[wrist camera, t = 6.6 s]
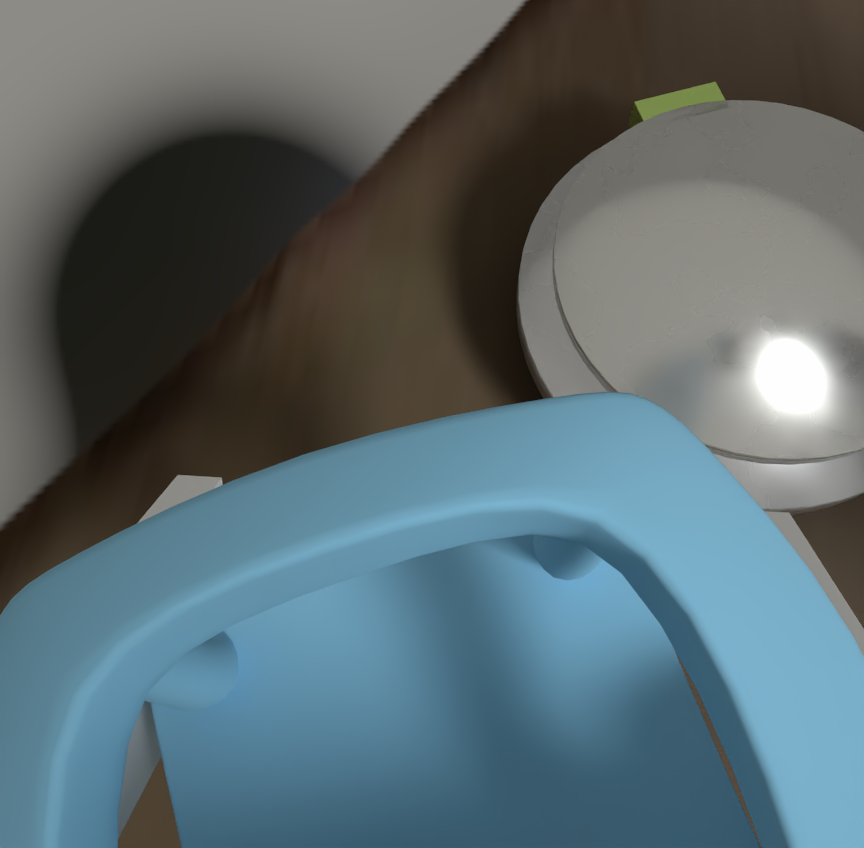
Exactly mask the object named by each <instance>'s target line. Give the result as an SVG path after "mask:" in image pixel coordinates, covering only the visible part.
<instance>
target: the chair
mask: <svg viewBox="0 0 864 848" xmlns="http://www.w3.org/2000/svg"><path fill="white" fill-rule="evenodd" d="M674 649H675V650H674ZM675 651H676V653H677V655H678V656H679V658H680V660H681V662H682V663H683V665H684V667H685V669H686V670H687V672H688V674H689V676H690V678H691V679H692V681H693V683H694V685H695V686H696V688H697V690H698V692H699V695H700V697H701V699H702V701H703V703H704V706H705V708H706V710H707V712H708V715H709V717H710V719H711V721H712V723H713V726H714V728H715V730H716V732H717V735H718V737H719V739H720V741H721V743H722V746H723V748H724V750H725V752H726V754H727V757H728V759H729V761H730V763H731V766H732V768H733V771H734V774H735V776H736V779H737V782H738V784H739V787H740V790H741V792H742V795H743V798H744V800H745V803H746V806H747V808H748V811H749V814H750V816H751V819H752V822H753V824H754V827H755V830H756V832H757V835H758V838H759V840H760V843H761V846H762V848H864V657H863V655H862V653H861V651H860V648H859V646H858V644H857V642H856V640H855V638H854V637H853V635H852V634H851V632H850V630H849V629H848V627H847V626H846V624H845V623H844V621H843V620H842V618H841V617H840V615H839V613H838V612H837V610H836V609H835V607H834V606H833V604H832V603H831V601H830V599H829V598H828V596H827V595H826V593H825V592H824V590H823V589H822V587H821V586H820V584H819V582H818V581H817V579H816V578H815V576H814V575H813V573H812V572H811V570H810V569H809V568H808V566H807V565H806V564H805V562H804V561H803V560H802V559H801V557H800V556H799V555H798V553H797V552H796V551H795V549H794V548H793V547H792V546H791V544H790V543H789V542H788V540H787V539H786V538H785V537H784V535H783V534H782V533H781V531H780V530H779V529H778V528H777V526H776V525H775V524H774V522H773V521H772V520H771V519H770V517H769V516H768V515H767V514H766V513H765V511H764V510H763V509H762V508H761V507H760V506H759V505H758V503H757V502H756V501H755V500H754V499H753V498H752V497H751V495H750V494H749V493H748V492H747V491H746V490H745V489H744V487H743V486H742V485H741V484H740V483H739V482H738V481H737V479H736V478H735V477H734V476H733V475H732V474H731V473H730V472H729V471H728V469H727V468H726V467H725V466H724V465H723V464H722V463H721V462H720V461H719V460H718V459H717V458H716V456H715V455H714V454H713V453H712V452H711V451H710V450H709V449H708V448H707V447H706V446H705V445H704V444H703V443H702V442H701V441H700V440H699V439H698V438H697V437H696V436H695V435H694V434H693V433H692V432H691V431H690V430H689V429H688V428H687V427H686V426H685V425H684V424H683V423H681V422H680V421H679V420H678V419H676V418H675V417H674V416H673V415H672V414H670V413H669V412H668V411H667V410H665V409H664V408H662V407H660V406H659V405H657V404H655V403H653V402H652V401H650V400H648V399H646V398H643V397H640V396H636V395H633V394H630V393H621V392H594V393H581V394H574V395H567V396H560V397H553V398H546V399H540V400H534V401H528V402H522V403H516V404H510V405H504V406H498V407H493V408H488V409H483V410H478V411H473V412H468V413H463V414H458V415H453V416H448V417H443V418H438V419H434V420H430V421H426V422H422V423H418V424H413V425H409V426H405V427H401V428H397V429H392V430H388V431H384V432H380V433H376V434H372V435H369V436H365V437H362V438H358V439H355V440H352V441H348V442H345V443H341V444H338V445H334V446H331V447H328V448H324V449H321V450H317V451H314V452H311V453H307V454H304V455H301V456H298V457H296V458H293V459H290V460H287V461H285V462H282V463H279V464H276V465H274V466H271V467H268V468H266V469H263V470H260V471H257V472H255V473H252V474H249V475H246V476H244V477H241V478H238V479H236V480H233V481H231V482H228V483H226V484H224V485H221V486H219V487H217V488H214V489H212V490H210V491H207V492H205V493H203V494H200V495H198V496H196V497H193V498H191V499H189V500H186V501H184V502H182V503H179V504H177V505H175V506H172V507H170V508H168V509H166V510H164V511H162V512H160V513H158V514H156V515H154V516H152V517H150V518H148V519H145V520H143V521H141V522H139V523H137V524H135V525H133V526H131V527H129V528H127V529H125V530H123V531H120V532H119V533H117V534H115V535H113V536H111V537H109V538H107V539H105V540H103V541H101V542H100V543H98V544H96V545H94V546H92V547H90V548H88V549H86V550H84V551H82V552H81V553H79V554H77V555H75V556H73V557H71V558H70V559H68V560H66V561H64V562H63V563H61V564H59V565H57V566H55V567H54V568H52V569H50V570H48V571H47V572H45V573H44V574H42V575H41V576H39V577H38V578H36V579H35V580H33V581H32V582H30V583H29V584H27V585H26V586H25V587H24V588H23V589H22V590H21V591H20V592H19V593H17V594H16V595H15V596H14V597H13V598H12V599H11V601H10V602H9V603H8V605H7V606H6V608H5V609H4V611H3V612H2V613H1V615H0V848H118V813H119V806H120V799H121V791H122V784H123V777H124V770H125V763H126V756H127V749H128V744H129V741H130V738H131V735H132V732H133V728H134V726H135V723H136V721H137V718H138V716H139V713H140V711H141V709H142V706H143V704H144V701H147V702H151V707H152V712H153V718H154V723H155V729H156V733H157V738H158V742H159V747H160V751H161V756H162V761H163V765H164V770H165V774H166V779H167V783H168V788H169V793H170V797H171V802H172V806H173V811H174V815H175V820H176V825H177V829H178V834H179V838H180V844H181V848H760V846H759V843H758V841H757V839H756V837H755V835H754V832H753V830H752V828H751V826H750V823H749V821H748V819H747V817H746V814H745V812H744V810H743V808H742V806H741V803H740V801H739V799H738V797H737V794H736V792H735V790H734V788H733V785H732V783H731V781H730V779H729V777H728V774H727V772H726V770H725V768H724V765H723V763H722V761H721V758H720V756H719V754H718V751H717V749H716V747H715V744H714V742H713V740H712V737H711V735H710V733H709V730H708V728H707V726H706V723H705V721H704V719H703V716H702V714H701V712H700V709H699V707H698V705H697V702H696V700H695V698H694V695H693V693H692V691H691V688H690V686H689V684H688V681H687V679H686V677H685V674H684V672H683V670H682V667H681V665H680V662H679V660H678V658H677V655H676V653H675Z"/></svg>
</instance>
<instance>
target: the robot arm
mask: <svg viewBox="0 0 864 848" xmlns="http://www.w3.org/2000/svg"><path fill="white" fill-rule="evenodd" d="M221 485H222V478H220V477H203V476H187V475H177V476H176V478H175V479H174V480H173V481H172V482H171V484H170V485H169V486H168V487H167V488H166V490H165V491H164V492H163V493H162V494H161V495H160V497H159V498H158V499H157V500H156V501H155V503H154V504H153V505H152V506H151V507H150V509H149V510H148V511H147V512H146V513H145V515H144V516H143V517H142V518H141V519H140V520H139V522H141V521H143V520H145V519H148V518H150V517H152V516H154V515H156V514H158V513H160V512H162V511H164V510H166V509H168V508H170V507H172V506H175V505H177V504H179V503H182V502H184V501H186V500H189V499H191V498H193V497H196V496H198V495H200V494H203V493H205V492H207V491H210V490H212V489H214V488H217V487H219V486H221ZM765 513H766V514H767V515H768V516H769V517H770V519H771V520H772V521H773V522H774V524H775V525H776V526H777V528H778V529H779V530H780V531H781V533H782V534H783V535H784V537H785V538H786V539H787V540H788V542H789V543H790V544H791V546H792V547H793V548H794V549H795V551H796V552H797V553H798V555H799V556H800V557H801V559H802V560H803V561H804V562H805V564H806V565H807V566H808V568H809V569H810V570H811V572H812V573H813V575H814V576H815V578H816V579H817V581H818V582H819V584H820V586H821V587H822V589H823V590H824V592H825V593H826V595H827V596H828V598H829V599H830V601H831V603H832V604H833V606H834V607H835V609H836V610H837V612H838V613H839V615H840V617H841V618H842V620H843V621H844V623H845V624H846V626H847V627H848V629H849V630H850V632H851V634H852V635H853V637H854V638H855V640H856V642H857V644H858V646H859V648H860V651H861V653H862V655H863V657H864V629H863V627H862V626H861V624H860V623H859V621H858V619H857V618H856V616H855V615H854V613H853V612H852V610H851V608H850V607H849V605H848V604H847V602H846V601H845V599H844V598H843V596H842V594H841V593H840V591H839V590H838V588H837V587H836V585H835V583H834V582H833V580H832V579H831V577H830V576H829V574H828V573H827V571H826V569H825V568H824V566H823V565H822V563H821V562H820V560H819V558H818V557H817V555H816V554H815V552H814V551H813V549H812V547H811V546H810V544H809V543H808V541H807V540H806V538H805V537H804V535H803V533H802V532H801V530H800V529H799V527H798V526H797V524H796V522H795V521H794V519H793V518H792V516H791V515H790V513H786V512H770V511H765ZM139 522H138V523H139ZM160 757H161V751H160V747H159V742H158V738H157V733H156V729H155V723H154V718H153V712H152V707H151V702H147V701H144V704H143V706H142V709H141V711H140V713H139V716H138V718H137V721H136V723H135V726H134V728H133V732H132V735H131V738H130V741H129V744H128V749H127V756H126V763H125V770H124V777H123V784H122V791H121V799H120V806H119V813H118V838H119V836H120V835H121V833H122V831H123V829H124V827H125V825H126V823H127V821H128V819H129V817H130V815H131V813H132V811H133V809H134V807H135V805H136V804H137V802H138V800H139V798H140V796H141V794H142V792H143V790H144V788H145V786H146V784H147V782H148V780H149V778H150V776H151V774H152V773H153V771H154V769H155V767H156V765H157V763H158V761H159V759H160Z"/></svg>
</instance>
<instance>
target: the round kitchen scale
mask: <svg viewBox="0 0 864 848" xmlns="http://www.w3.org/2000/svg"><path fill="white" fill-rule="evenodd" d="M628 123H629V125H630V129H628V130H627V131H625V132H623V133H622V134H620V135H619V136H617V137H616V138H615V139H614V140H612V141H610V142H608V143H607V144H605V145H603V146H602V147H600V148H598V149H597V150H595V151H593V152H592V153H590V154H589V155H588V156H587V157H585V158H584V159H583V160H582V161H580V162H579V163H578V164H577V165H575V166H574V167H573V168H572V169H571V170H570V171H569V172H568V173H567V174H566V175H565V176H564V177H563V178H562V179H561V180H560V181H559V182H558V183H557V184H556V185H555V187H554V188H553V190H552V191H551V192H550V194H549V195H548V197H547V198H546V199H545V201H544V202H543V204H542V205H541V207H540V209H539V211H538V213H537V215H536V217H535V219H534V221H533V223H532V225H531V227H530V230H529V233H528V236H527V239H526V242H525V245H524V248H523V253H522V259H521V265H520V271H519V278H518V285H517V306H516V316H517V323H518V331H519V339H520V343H521V346H522V350H523V353H524V357H525V360H526V364H527V366H528V368H529V371H530V373H531V375H532V378H533V380H534V382H535V384H536V387H537V389H538V390H539V392H540V394H541V395H542V397H543V399H546V398H553V397H560V396H567V395H574V394H581V393H594V392H621V393H630V394H633V395H636V396H640V397H643V398H646V399H648V400H650V401H652V402H653V403H655V404H657V405H659V406H660V407H662V408H664V409H665V410H667V411H668V412H669V413H670V414H672V415H673V416H674V417H675V418H676V419H678V420H679V421H680V422H681V423H683V424H684V425H685V426H686V427H687V428H688V429H689V430H690V431H691V432H692V433H693V434H694V435H695V436H696V437H697V438H698V439H699V440H700V441H701V442H702V443H703V444H704V445H705V446H706V447H707V448H708V449H709V450H710V451H711V452H712V453H713V454H714V455H715V456H716V458H717V459H718V460H719V461H720V462H721V463H722V464H723V465H724V466H725V467H726V468H727V469H728V471H729V472H730V473H731V474H732V475H733V476H734V477H735V478H736V479H737V481H738V482H739V483H740V484H741V485H742V486H743V487H744V489H745V490H746V491H747V492H748V493H749V494H750V495H751V497H752V498H753V499H754V500H755V501H756V502H757V503H758V505H759V506H760V507H761V508H762V509H763V510H764V511H770V512H786V513H790V515H791V516H792V515H799V514H804V513H808V512H813V511H818V510H822V509H826V508H829V507H832V506H834V505H837V504H840V503H843V502H845V501H848V500H851V499H853V498H855V497H857V496H859V495H861V494H863V493H864V132H863V131H861V130H859V129H857V128H856V127H853V126H851V125H849V124H847V123H844V122H842V121H840V120H837V119H835V118H833V117H830V116H827V115H824V114H821V113H818V112H814V111H811V110H808V109H804V108H800V107H795V106H791V105H786V104H781V103H773V102H764V101H753V100H725V98H724V96H723V95H722V93H721V91H720V89H719V87H718V85H717V84H716V82H712V83H708V84H704V85H700V86H696V87H692V88H688V89H684V90H680V91H676V92H672V93H668V94H664V95H660V96H655V97H651V98H647V99H643V100H639V101H635V102H634V104H633V108H632V111H631V115H630V118H629V122H628Z"/></svg>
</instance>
